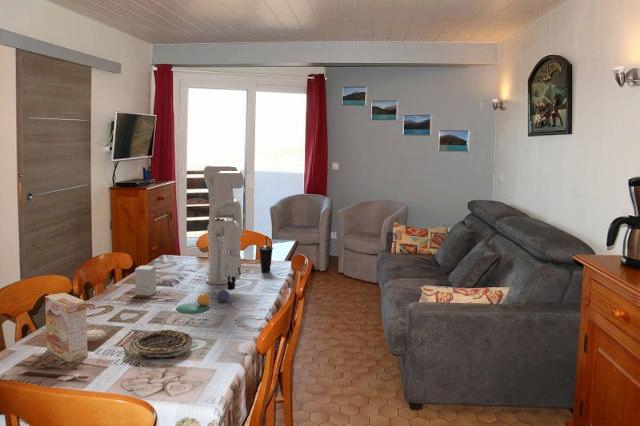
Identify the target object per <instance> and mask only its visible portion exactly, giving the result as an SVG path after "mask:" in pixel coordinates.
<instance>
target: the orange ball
mask: <svg viewBox="0 0 640 426" xmlns="http://www.w3.org/2000/svg"><path fill="white" fill-rule="evenodd" d="M210 298H211V297H210V295H208V294H207V293H201V294H199V295H198V296H197V298H196V303H198V304H199V305H200V306H206V305H208V306H209V304H210V302H211V299H210Z"/></svg>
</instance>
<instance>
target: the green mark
mask: <svg viewBox="0 0 640 426" xmlns="http://www.w3.org/2000/svg"><path fill="white" fill-rule="evenodd" d="M208 310H210V306H209V304H208V305H206V306H200V305H199V304H198V302H190V303H188V302H187V303H184V304H180V305H178V306H176V311H177V312H178V313H182V314H187V313H188V314H189V315H193V314H201V313H204V312H207V311H208Z"/></svg>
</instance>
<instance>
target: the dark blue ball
mask: <svg viewBox="0 0 640 426" xmlns="http://www.w3.org/2000/svg"><path fill="white" fill-rule="evenodd" d="M216 299H217V300H218V301H219V302H220V303H225V302H228V301H229V299H230V293H229V292H228V290H226V289H222V290H219V291H218V292H217V294H216Z"/></svg>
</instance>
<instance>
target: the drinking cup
mask: <svg viewBox="0 0 640 426" xmlns="http://www.w3.org/2000/svg"><path fill="white" fill-rule="evenodd" d="M258 249H259V258H260V271H261V273H263V274H264V273H265V274H266V273H270V272H271V265H272V256H273V249H274V248H273V247H272V246H271V245H268V236H265V245H261V246H259V248H258Z"/></svg>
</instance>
